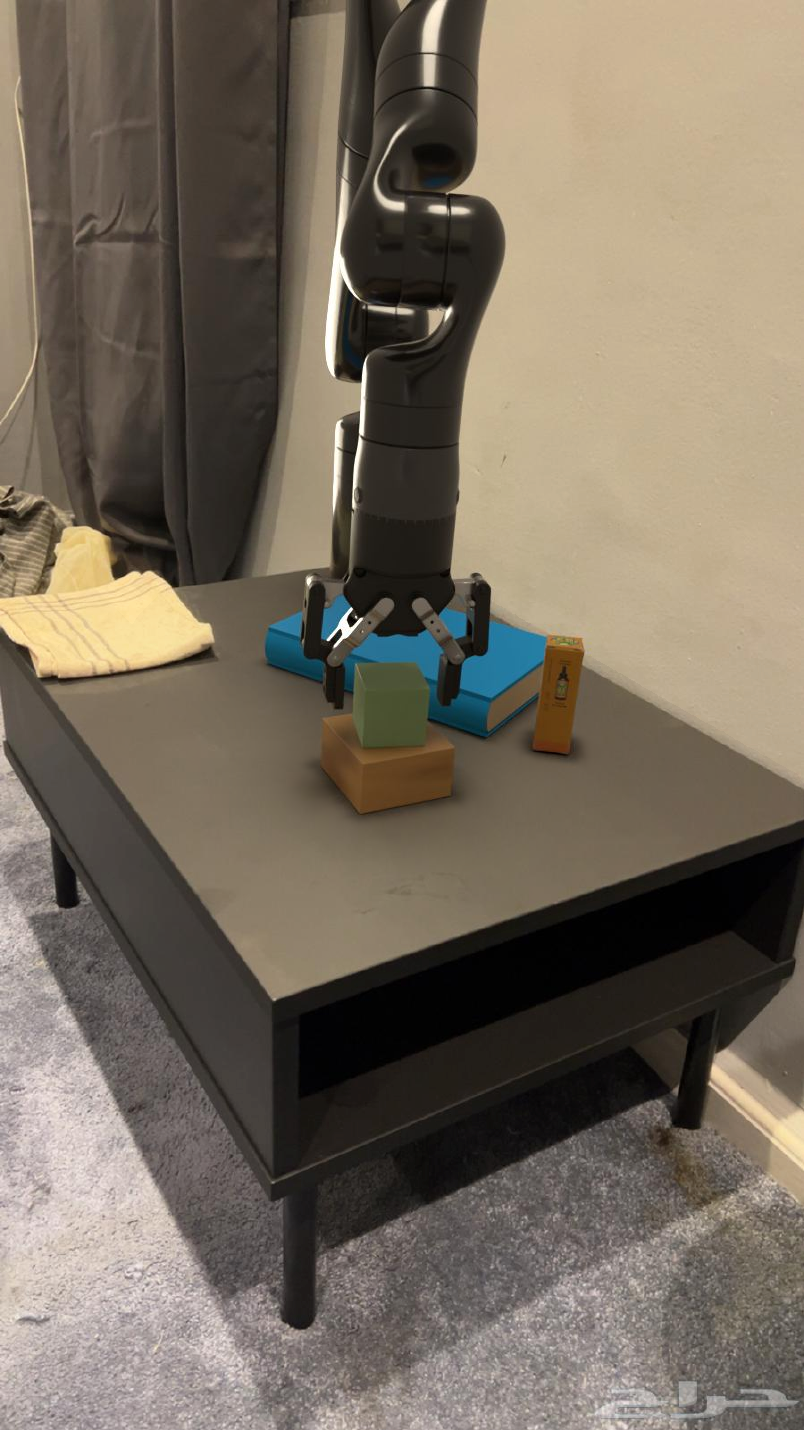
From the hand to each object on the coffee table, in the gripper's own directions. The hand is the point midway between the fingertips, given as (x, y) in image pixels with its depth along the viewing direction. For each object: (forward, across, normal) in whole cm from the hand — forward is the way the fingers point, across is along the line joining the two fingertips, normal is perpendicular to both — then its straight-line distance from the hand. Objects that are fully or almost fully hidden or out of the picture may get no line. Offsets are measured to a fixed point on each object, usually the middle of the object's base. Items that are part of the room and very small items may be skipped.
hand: (390, 703), depth 83 cm
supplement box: (+7, -16, -5) cm, 18 cm away
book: (+7, -7, -21) cm, 23 cm away
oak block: (+7, 0, 0) cm, 7 cm away
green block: (+3, 0, 0) cm, 3 cm away
